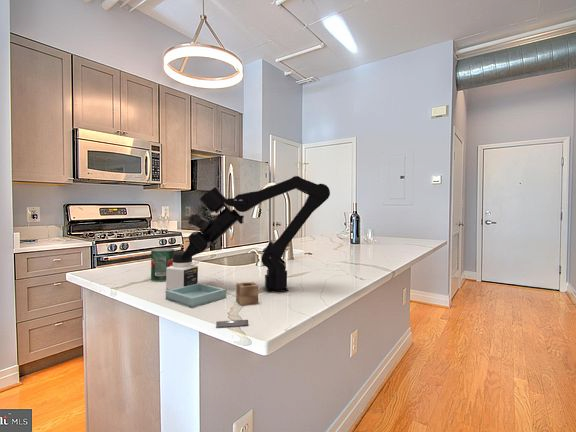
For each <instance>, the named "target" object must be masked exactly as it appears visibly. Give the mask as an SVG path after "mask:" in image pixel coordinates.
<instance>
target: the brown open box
mask: <svg viewBox="0 0 576 432" xmlns="http://www.w3.org/2000/svg"><path fill="white" fill-rule="evenodd" d="M235 287H236V288H235V302H236V303H237V304H238V305H239V306H249V305H258V304H259V285H258V284H257V283H255V282H253V281H249V282H248V281H247V282H246V281H245V282H237V283H236V285H235Z"/></svg>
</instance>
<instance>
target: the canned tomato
mask: <svg viewBox="0 0 576 432" xmlns="http://www.w3.org/2000/svg"><path fill="white" fill-rule="evenodd" d="M150 253H151V254H150V255H151V256H150V281H152V282H154V283H155V282H157V283H161V282H166V268H167V267H171V266H174V265H173V253H175V248H173V247H172V248H171V247H160V248H157V247H156V248H152V249H151V250H150Z"/></svg>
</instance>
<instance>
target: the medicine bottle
mask: <svg viewBox="0 0 576 432" xmlns="http://www.w3.org/2000/svg"><path fill="white" fill-rule="evenodd" d="M185 251H186V250H178V251H174V253H173V265H174V266H171V267H167V268H166V281H165V282H166V283H165V286H166V287H165V289H166V290H171V289H175V288H180V287H184V286H189V285H193V284H198V283H199V282H198V281H199V276H198V275H199V266H198V265H197V264H195V265H194V264H193V256H191V257H189V258H187V259H184V260H183V259H182V258H181V257H182V255H183V254H184V252H185Z"/></svg>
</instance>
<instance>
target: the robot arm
mask: <svg viewBox="0 0 576 432" xmlns="http://www.w3.org/2000/svg"><path fill="white" fill-rule="evenodd" d="M293 190H297V191H300V192H301V193H303V194H306V195H307V197H306V199H305V202H304V204H302V205H303V206H302V207H301V208H300V209H299V211H298V212H297V213H296V214H295V216H294V217H293V219H292V220H291V221H290V223H289V224H288V226H287V227H286V228H285V229H284V231H283V232H282V233H281V235H279V237H278V238H277V239H276V240H275V241H273V240H272V239H270V240H269V243H268V244H267V246H266V247H264V248H263V249H262V255H261V263H262V264H263V265H264V267H267V269H266V274H264V288H265V290H266V291H267V292H269V293H274V292H275V293H277V292H289V289H288V271H287V270H286V269H287V267H286V266H287V263H286V261H285V260H284V258H282V257H283V255H284V253H285V251H286V249H287V247H288V246H289V243H291V241H292V240H293V239H294V237H296V235H297V233H298V232H299V231H300V229H301V228H302V227H303V226H304V224H305V223H306V222H307V221H308V219H309V218H310V216H311V215H312V214H313V212H315V211H316V210H317V209H318V208H319V207H321V205H323V204H324V203H325V202H326V201H327V200H328V199H329V198H330V196H331V190H330V188H329V187H328V185H327V184H324V183H315V182H313V181H310V180H307V179H304V178H302V177H300V176H299V175H294V176H292V177H290V178H288V179H286V180H283V181H281V182H278V183H275V184H273V185H270V186H267V187H265V188H261V189H260V190H256V191H251V192H245V193H244V192H243V193H239V194H237V195H236V196H235V197H233V198H232V197H230V198H229V197H228V198H226V197H225V196H224V195H223V194H222V193H221V191H220V190H219V188H217V187H216V186H214V187H212V189H210V190H208V191H207V192H205V193H204V194H203V195H202V196H201V197H200V198H199V201H200V203H202V204H203V206H204V207H205V208H206V209H207V210H208V211H209V212H210V213H211V214H214V213H215V214H217V215H216V216H215V217H214V218H212V219H209V220H208V218H205V217H203V216H202V215H199V213H192V214H191V215H190V216H189V217H188V219H189V220H188V222H187V223H188V224H189V225H191V226H195V227H196V228H199V230H198V231H193V232H191V233H190V235H188V242H189V243H188V246H187V248H186V249H185V250H184V251H185V252H184V254H183V255H182V257H181V258H182V259H183V260H184V259H187V258H189V257H191V256H192V257H194V256H196V255H199V254H201V253H203V252H205V251H206V250H207V249H208V250H209V249H211V248H213V247H214V246H216V245H217V244H218V243H219V242H220V238H221V237H222V236H223V235H224V234H226V233H227V231H228V230H229V229H230V228H232V226H233V225H235V224H236V223H237V222H238V223H239V224H240V225H242V224H244V223H245V221H244V218H245V215H243V214H242V215H240V214H239V212H240V213H245V212H249V211H251V210H252V209H253V208H256V207H257V206H258V205H260V204H262V203H263V202H265V201H268V200H271V199H274V198H275V197H278V196H281V195H283V194H286V193H288V192H291V191H293ZM230 207H233V208H234V209H231V208H230Z"/></svg>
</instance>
